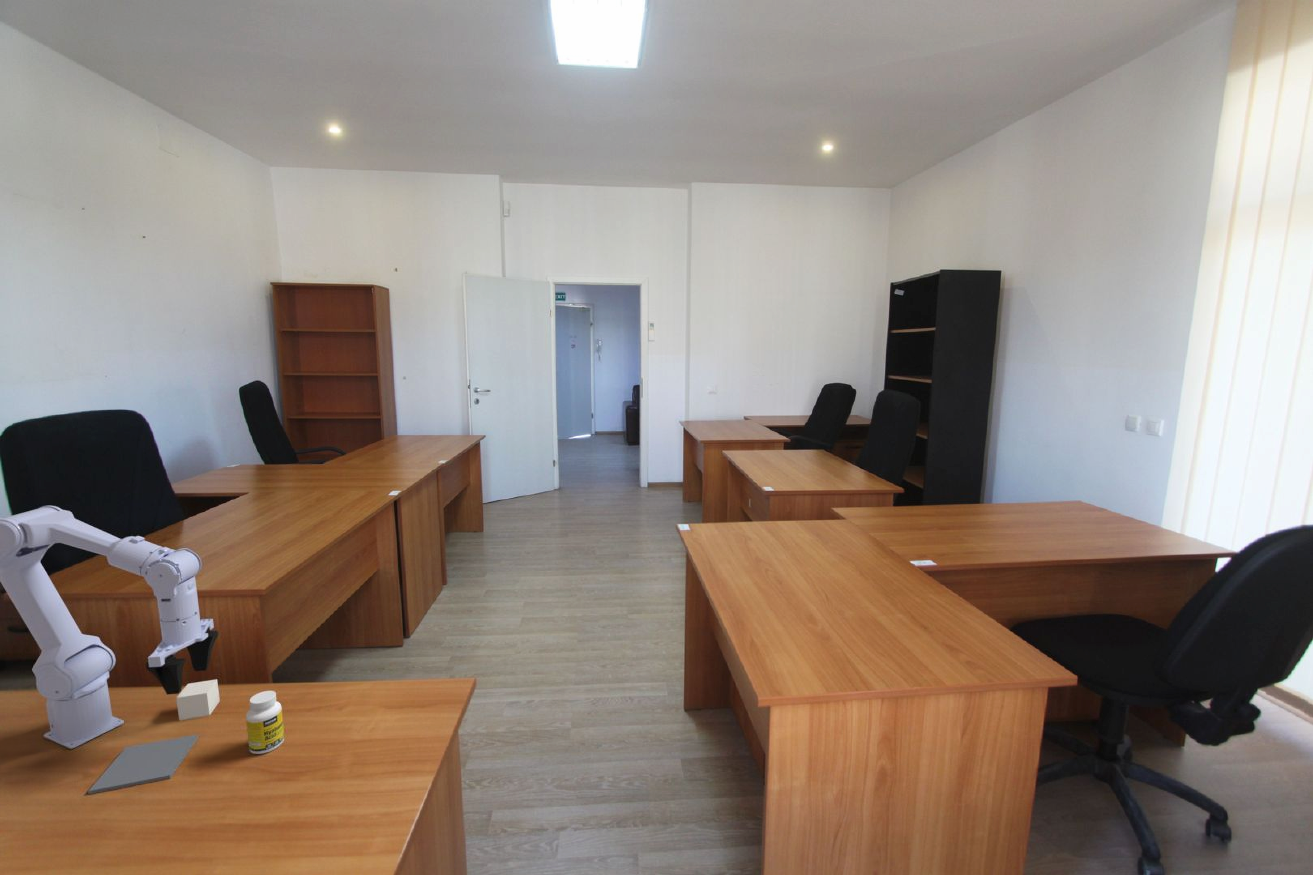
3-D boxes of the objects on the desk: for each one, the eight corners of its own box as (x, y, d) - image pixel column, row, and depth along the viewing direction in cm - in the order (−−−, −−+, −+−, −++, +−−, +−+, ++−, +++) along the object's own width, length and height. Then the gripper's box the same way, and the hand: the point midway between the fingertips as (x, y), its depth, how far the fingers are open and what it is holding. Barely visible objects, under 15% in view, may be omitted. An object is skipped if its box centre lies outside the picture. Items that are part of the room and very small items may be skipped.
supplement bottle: (266, 757, 101) (261, 707, 99) (242, 752, 102) (236, 703, 100) (291, 737, 106) (287, 689, 104) (268, 733, 107) (262, 686, 105)
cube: (179, 720, 111) (176, 697, 110) (190, 705, 115) (187, 683, 114) (209, 715, 112) (206, 692, 111) (219, 701, 117) (217, 679, 116)
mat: (88, 794, 92) (88, 791, 92) (126, 749, 102) (125, 746, 102) (170, 778, 96) (169, 775, 95) (198, 736, 106) (198, 734, 106)
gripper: (175, 632, 99) (184, 702, 101) (226, 597, 113) (233, 659, 115) (131, 634, 98) (141, 705, 100) (188, 599, 112) (196, 661, 114)
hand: (188, 681), depth 107 cm, fingers open, 7 cm apart
